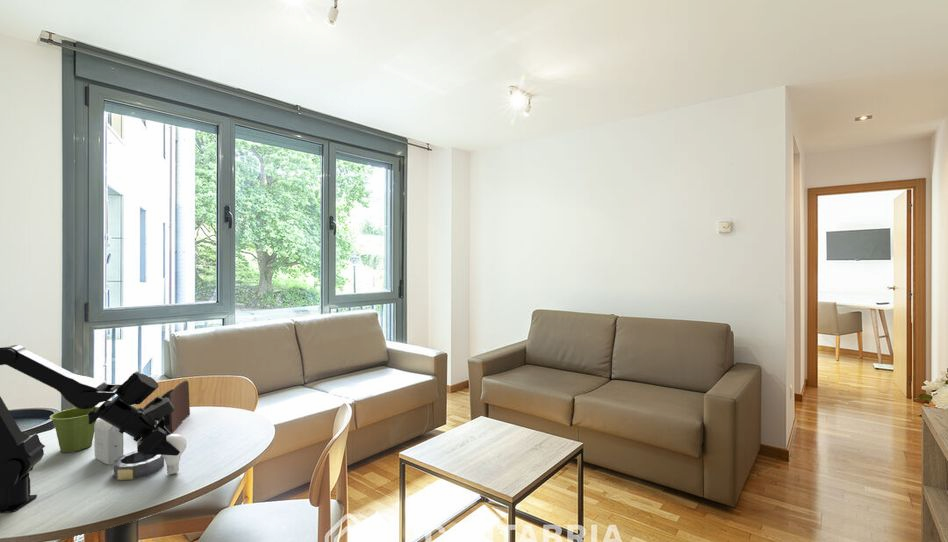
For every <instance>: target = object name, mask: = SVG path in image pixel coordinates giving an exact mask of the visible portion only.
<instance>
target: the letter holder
mask: <svg viewBox="0 0 948 542" xmlns="http://www.w3.org/2000/svg"><path fill="white" fill-rule="evenodd" d="M189 385H190V384H189V380H183V381H182V382H180V383H179V384H177V385H176V386H174V388H173V389H170V390H168V391H167V392H165V393H164V394H162V395H161V396H160V397H162V398H164V399H165V397H166V398H168V399H169V400H170V402H171V403H172V405H173V406H174V411H173V412H172V413H170V414H167V415H165V416H163V417H164V426H165V427H166V428H167V430H168V431H169V432H170V433H172V434H174V432H175V431H176V430H177V428H178V427H179V426H180V425H181V424H182V423H183V422H184V421H185V420H186V418H187V417H188V416H189V415H190V414H191V408H190V407H191V406H190V386H189ZM151 405H153V399H151V401H149V402H148V403H147V404H146V405H145V406H144V407H142V408H143V409H144V410H145V409H147V408H149V407H150V406H151ZM159 420H160V419H158V420H157V421H159ZM183 420H184V421H183ZM182 421H183V422H182Z"/></svg>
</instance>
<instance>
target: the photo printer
mask: <svg viewBox="0 0 948 542" xmlns="http://www.w3.org/2000/svg"><path fill="white" fill-rule="evenodd" d="M93 439H94V441H93V443H94V458H95V459H96V460H98V461H100V462H101V463H103V464H105V465H110V466H111V465H112V466H114V461H115V460H116V459H118V458H119V457H120V456H123V455H124V433H123V434H122V433H120V432H119V429H118V428H116V427H114V426H112V425H111V424H109V423H107V422H105V421H104V420H102V419H100V418H98V419H97V421H96V422H95V425H94V436H93Z"/></svg>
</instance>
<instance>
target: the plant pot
mask: <svg viewBox="0 0 948 542" xmlns="http://www.w3.org/2000/svg"><path fill="white" fill-rule="evenodd" d="M98 407H99V406H97V405H96V406H95V407H93V408H90V409H85V410H84V409H79V408H77V407H75V408H74V407H72V408H68V409H65V410H61V411H58V412H54V413H53V414H51V415H50V416H49V419H50V420H52V423H53V426H54V427H55V428H54V429H55V431H56V437H57V440H58V446H59V449H60V452H63V453H66V452H69V453H75V452H79V451H82V450H84V449H88V448H90V447H91V446H92V445H93V442H94V441H93V439H94V425H95V422H96V421H97V420H98V419H97V420H96V421H94V422H93V423H92V424H89V416H88V413H89V411H90V410H95V409H97V408H98Z"/></svg>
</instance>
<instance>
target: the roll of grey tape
mask: <svg viewBox="0 0 948 542" xmlns="http://www.w3.org/2000/svg"><path fill="white" fill-rule="evenodd" d="M164 466H165V459H164V458H163V457H162V456H161V455H145V456H143V455H141V454H140V453H138V452H137V450H135V451H134V450H133V451H131V452H128V453H125V454H123V456H120V457H119V458H118V459H116V460H115V461H114V464H113V478H114V479H117V481H127V480H135V479H139V478H143V477H147V476H149V475H152V474H154V473H157V472H158V471H160V470H161V469H162V468H163V467H164Z"/></svg>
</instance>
